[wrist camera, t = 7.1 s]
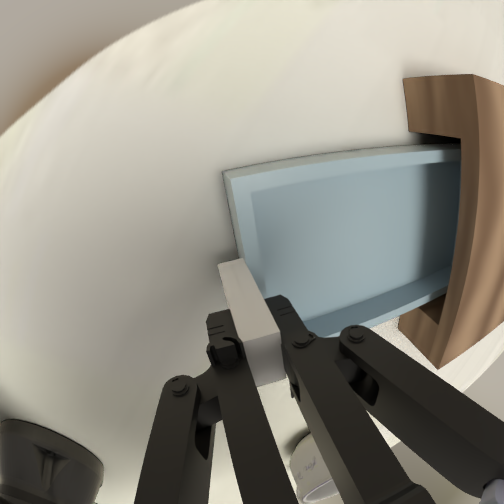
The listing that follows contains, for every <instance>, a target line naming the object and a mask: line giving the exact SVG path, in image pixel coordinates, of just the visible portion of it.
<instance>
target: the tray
mask: <svg viewBox="0 0 504 504" xmlns="http://www.w3.org/2000/svg"><path fill="white" fill-rule="evenodd" d="M222 174H223V180H224V185H225V190H226V195H227V200H228V205H229V210H230V216H231V221H232V226H233V231H234V236H235V241H236V246H237V251H238V256H239V259H240V258H243V259H244V261H245V263H246V265H247V266H248V268H249V270H250V272H251V274H252V276H253V278H254V280H255V282H256V284H257V286H258V289H259V291H260V293H261V295H262V297H263V299H266V298H269V297H273V296H277V295H280V294H281V295H282V296H284V297H286V298H288V299H289V301H290V302H291V304H292V306H293V307H294V309H295V310H296V312H297V313H298V315H299V317H300V318H301V320H302V321H303V323H304V325H305V326H306V328H307V329H308V331H311V332H314V333H315V334H316V335H317V336H318V337H338V336H339V335H340V333H341V331H342V330H343V329H344V328H345V327H348V326H350V325H363V326H365V327H367V328H372V327H374V326H376V325H379V324H381V323H384V322H386V321H388V320H390V319H393V318H395V317H397V316H399V315H402V314H404V313H406V312H408V311H410V310H413V309H415V308H417V307H419V306H421V305H423V304H425V303H427V302H429V301H431V300H433V299H435V298H437V297H439V296H441V295H443V294H445V293H447V289H448V285H449V280H450V275H451V269H452V264H453V258H454V251H455V244H456V237H457V228H458V219H459V207H460V192H461V144H458V143H452V144H423V145H405V146H391V147H379V148H368V149H358V150H349V151H341V152H332V153H325V154H317V155H310V156H304V157H297V158H291V159H284V160H278V161H273V162H267V163H261V164H256V165H251V166H245V167H240V168H235V169H231V170H226V171H222Z"/></svg>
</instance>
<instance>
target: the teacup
mask: <svg viewBox="0 0 504 504" xmlns="http://www.w3.org/2000/svg"><path fill="white" fill-rule="evenodd" d="M290 469H291V472H292V475H293V477H294V480H295V482H296V484H297V491H296V492H297V497H298V499H299V501H300V502H301V503H302V504H314V503H316V502H317V501H319V500H323V499H326V498H329V497H331V496H335V495H336V494H339V491H338V489H337V487H336V485H335V483H334V481H333V479H332V477H331V475H330V473H329V470H328V468H327V466H326V464H325V462H324V460H323V458H322V456H321V453H320V451H319V449H318V447H317V445H316V443H315V441H314V438H313V436H312V434H311V433H310V434H309V435H307V436H306V437H305V438H303V439H302V440H301V441H300V442H299V444H298V445H297V447H296V449H295V451H294V452H293V454H292V456H291V458H290Z"/></svg>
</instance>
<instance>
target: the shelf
mask: <svg viewBox="0 0 504 504" xmlns="http://www.w3.org/2000/svg"><path fill="white" fill-rule="evenodd" d="M403 84H404V91H405V98H406V107H407V116H408V127H409V132H419V133H427V134H435V135H442V136H449V137H455V138H461V192H460V207H459V219H458V228H457V237H456V244H455V251H454V258H453V264H452V269H451V275H450V280H449V285H448V289H447V293H445V294H443V295H441V296H439V297H437V298H435V299H433V300H431V301H429V302H427V303H425V304H423V305H421V306H419V307H417V308H415V309H413V310H410V311H408V312H406V313H404V314H402V315H400V319H399V325H398V329H399V330H400V331H401V332H402V333H403V334H404V335H405V336H406V337H407V338H408V339H409V340H410V341H411V342H412V343H413V345H414V346H415V347H416V348H417V349H418V350H419V351H420V352H421V353H422V354H423V355H424V356H425V357H426V358H427V359H428V360H429V361H430V362H431V363H432V364H433V365H434V366H435V368H436V369H437V370H438V369H440V368H441V367H443V366H445V365H446V364H448V363H449V362H451V361H452V360H453V359H455V358H456V357H458V356H459V355H461V354H462V353H464V352H465V351H466V350H468V349H469V348H470V347H472V346H473V345H474V344H476V343H477V342H478V341H480V340H481V339H482V338H484V337H485V336H486V335H487V334H489V333H490V332H491V331H492V330H494V329H495V328H496V327H497V326H498V325H500V324H501V323H502V322H503V321H504V86H503V85H501V84H499V83H496V82H493V81H491V80H488V79H485V78H482V77H480V76H477V75H474V74H460V75H439V76H425V77H414V78H405V79H403Z"/></svg>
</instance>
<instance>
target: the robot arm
mask: <svg viewBox="0 0 504 504" xmlns="http://www.w3.org/2000/svg"><path fill="white" fill-rule="evenodd" d="M217 265H218V269H219V273H220V277H221V281H222V285H223V289H224V293H225V297H226V301H227V305H228V308H229V309H227V310H223V311H219V312H215V313H211V314H209V316H208V318H207V321H206V324H207V330H208V336H209V342H210V343H209V344H208V346H207V350H206V352H207V354H208V357H209V360H210V362H211V366H210V368H209V369H208V370H207V371H206V372H205V373H203V374H201V375H200V376H198V377H196V378H192V377H190V376H187V375H180V376H175V377H173V378H171V379H170V380H168V381H167V382H166V383H165V385H164V387H163V389H162V393H161V397H160V400H159V404H158V407H157V411H156V415H155V418H154V422H153V426H152V430H151V434H150V438H149V441H148V445H147V449H146V453H145V458H144V462H143V466H142V470H141V474H140V479H139V483H138V487H137V492H136V496H135V501H134V504H208V499H209V488H210V477H211V467H212V457H213V447H214V437H215V428H216V423H217V422H219V421H221V420H222V419H223V424H224V428H225V433H226V437H227V442H228V446H229V450H230V454H231V459H232V463H233V467H234V471H235V475H236V479H237V483H238V486H239V490H240V494H241V498H242V501H243V504H299V503H298V500H297V498H296V495H295V493H294V490H293V488H292V485H291V482H290V480H289V477H288V475H287V472H286V469H285V467H284V464H283V461H282V458H281V456H280V453H279V450H278V448H277V445H276V442H275V439H274V436H273V434H272V431H271V428H270V425H269V422H268V420H267V417H266V414H265V411H264V408H263V405H262V402H261V399H260V396H259V393H258V390H257V387H259V386H262V385H266V384H269V383H273V382H276V381H279V380H282V379H286V374H287V376H288V378H289V382H290V390H291V397H292V398H293V397H295V399H296V401H297V404H298V406H299V408H300V410H301V412H302V415H303V417H304V419H305V421H306V423H307V425H308V428H309V430H310V432H311V434H312V436H313V438H314V441H315V443H316V445H317V447H318V449H319V451H320V453H321V456H322V458H323V460H324V462H325V464H326V466H327V468H328V470H329V473H330V475H331V477H332V479H333V481H334V483H335V485H336V487H337V489H338V491H339V493H340V495H341V498H342V500H343V502H344V504H436V503H435V502H434V500H433V499H432V497H431V495H430V494H429V493H428V491H427V490H426V489H425V488H424V487H422V486H421V485H418V484H415V483H413V482H412V481H411V480H410V479H409V477H408V476H407V474H406V472H405V471H404V469H403V468H402V467H401V465H400V463H399V461H398V460H397V458H396V457H395V455H394V453H393V452H392V450H391V449H390V447H389V446H388V444H387V442H386V441H385V439H384V438H383V436H382V435H381V433H380V432H379V430H378V428H377V427H376V425H375V424H374V422H373V421H372V419H371V417H370V416H369V414H368V413H367V411H368V412H369V413H370V414H371V415H372V416H373V417H375V418H376V419H377V420H378V421H379V422H380V423H381V424H382V425H384V426H385V427H386V428H387V429H388V430H389V431H390V432H392V433H393V434H394V435H395V436H396V437H397V438H398V439H400V440H401V441H402V442H403V443H404V444H405V445H406V446H408V447H409V448H410V449H411V450H412V451H414V452H415V453H416V454H417V455H418V456H419V457H421V458H422V459H423V460H424V461H425V462H427V463H428V464H429V465H430V466H431V467H433V468H434V469H435V470H436V471H437V472H439V473H440V474H441V475H442V476H444V477H445V478H446V479H447V480H448V481H450V482H451V483H452V484H453V485H455V486H456V487H457V488H459V489H460V490H462V491H464V492H465V493H467V494H470V495H472V496H475V497H478V498H481V501H480V502H479V504H504V422H503V421H501V420H500V419H498V418H497V417H496V416H494V415H493V414H491V413H490V412H489V411H487V410H486V409H484V408H483V407H481V406H480V405H479V404H477V403H476V402H474V401H473V400H471V399H470V398H468V397H467V396H466V395H464V394H463V393H461V392H460V391H458V390H457V389H456V388H454V387H453V386H451V385H450V384H448V383H447V382H446V381H444V380H443V379H441V378H440V377H438V376H437V375H435V374H434V373H433V372H431V371H430V370H428V369H427V368H425V367H424V366H422V365H421V364H420V363H418V362H417V361H415V360H414V359H412V358H411V357H409V356H408V355H407V354H405V353H404V352H402V351H401V350H399V349H398V348H396V347H395V346H394V345H392V344H391V343H389V342H388V341H386V340H385V339H383V338H382V337H381V336H379V335H378V334H376V333H375V332H373V331H372V330H370V329H369V328H367V327H365V326H363V325H350V326H348V327H345V328H344V329H343V330H342V331H341V333H340V335H339V336H338V337H318V336H317V335H316V334H315V333H314V332H311V331H308V329H307V328H306V326H305V325H304V323H303V321H302V320H301V318H300V317H299V315H298V313H297V312H296V310H295V309H294V307H293V306H292V304H291V302H290V301H289V299H288V298H286V297H284V296H282V295H281V294H280V295H277V296H273V297H269V298H266V299H263V297H262V295H261V293H260V291H259V289H258V286H257V284H256V282H255V280H254V278H253V276H252V274H251V272H250V270H249V268H248V266H247V265H246V263H245V261H244V259H243V258H240V259H236V260H232V261H228V262H224V263H220V264H217ZM365 409H366V410H367V411H366V410H365ZM103 471H104V468H103V465H102V463H101V462H100V461H99V460H98V459H97V458H96V457H95V456H94V455H93V454H92V453H90V452H89V451H87V450H86V449H84V448H83V447H81V446H80V445H78V444H76V443H75V442H73V441H71V440H69V439H67V438H65V437H63V436H61V435H59V434H57V433H54V432H52V431H50V430H47V429H45V428H42V427H40V426H37V425H34V424H31V423H27V422H23V421H18V420H5V421H3V422H2V423H1V424H0V504H93V503H94V501H95V499H96V496H97V494H98V491H99V488H100V487H101V486H102V483H103Z"/></svg>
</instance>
